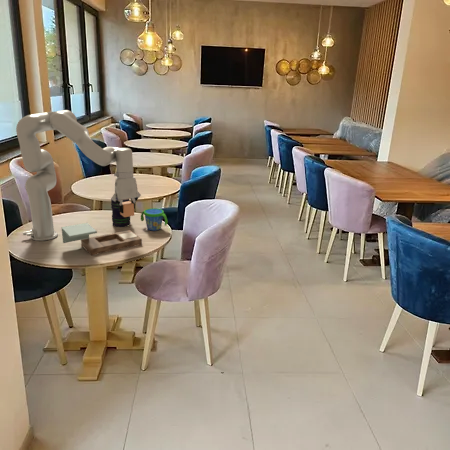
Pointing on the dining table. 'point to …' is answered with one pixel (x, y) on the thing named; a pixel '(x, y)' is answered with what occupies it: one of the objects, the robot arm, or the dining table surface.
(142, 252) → the dining table surface
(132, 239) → the board
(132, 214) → the block
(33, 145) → the robot arm
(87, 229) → the cover
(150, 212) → the snack cup
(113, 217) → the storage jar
